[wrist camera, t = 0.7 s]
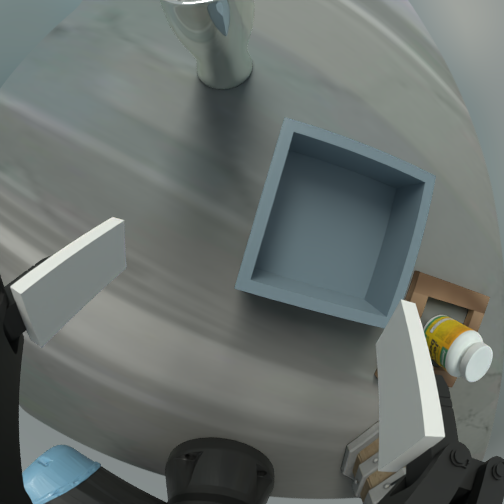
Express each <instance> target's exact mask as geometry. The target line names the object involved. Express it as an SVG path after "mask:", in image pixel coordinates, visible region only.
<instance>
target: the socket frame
mask: <svg viewBox="0 0 504 504" xmlns="http://www.w3.org/2000/svg"><path fill="white" fill-rule="evenodd" d="M428 296H429V297H432V298H435V299H438V300H442V301H445V302H448V303H451V304H455V305H458V306H461V307H464V308H467V309H469V310H468V313H467V316H466V318H465V321H464V324H463V325H465V326H467V327H469V328H471V329H473V330H474V331H476V332H478V329H479V327H480V324H481V321H482V319H483V316H484V313H485V310H486V307H487V304H488V301H489V298H490V297H488V296H485V295H483V294H480V293H477V292H474V291H472V290H469V289H466V288H464V287H461V286H458V285H455V284H452V283H450V282H447V281H444V280H441V279H438V278H436V277H433V276H430V275H427V274H424V273H421V272H418V271H415V272H414V275H413V278H412V281H411V284H410V287H409V290H408V293H407V296H406V299H405V301H409V302H412V303H415V304H416V307H417V310H418V314H419V317H420V318H421V316H422V313H423V310H424V308H425V305H426V302H427V299H428ZM433 371H434V374H437V375H442V376H443V378H444V380H445V382H446V383H447V385H448V387H452V386H453V384H454V383H455V381H456V379H457V377H454V376H451V375H450V374H449V373H447V372H446V371H445V370H444V369H443V368H442V367H435V366H433ZM375 376H376V377H377V378H378V368H377V370H376V372H375Z"/></svg>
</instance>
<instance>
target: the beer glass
mask: <svg viewBox="0 0 504 504" xmlns="http://www.w3.org/2000/svg"><path fill="white" fill-rule="evenodd" d="M160 3H161V6H162V9H163V12H164V14H165V17H166V19H167V21H168V24H169V26H170V28H171V29H172V31H173V33H174V35H175V36H176V37H177V39H178V40H179V41H180V42H181V44H182V45H183V46H184V47H185V48H186V49H187V50H188V51H189V52H190V54H191V55H192V56H193V57H194V58H195V60H196V67H197V74H198V76H199V78H200V80H201V81H202V82H203V83H204V84H205V85H207V86H209V87H211V88H215V89H230V88H233V87H236V86H238V85H240V84H242V83H243V82H244V81H245V80H246V79H247V78H248V77H249V75H250V73H251V71H252V59H251V56H250V54H249V52H248V49H247V47H248V42H249V39H250V35H251V31H252V27H253V22H254V12H255V3H254V0H160Z"/></svg>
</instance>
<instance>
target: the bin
mask: <svg viewBox="0 0 504 504" xmlns="http://www.w3.org/2000/svg"><path fill="white" fill-rule="evenodd" d="M435 178H436V176H435V175H433V174H431V173H429V172H427V171H425V170H423V169H421V168H418V167H416V166H414V165H412V164H410V163H408V162H406V161H403V160H401V159H399V158H397V157H394V156H392V155H390V154H387V153H385V152H383V151H380V150H378V149H376V148H373V147H371V146H368V145H366V144H363V143H360V142H358V141H355V140H353V139H350V138H347V137H345V136H342V135H339V134H336V133H333V132H330V131H328V130H325V129H322V128H319V127H316V126H312V125H309V124H306V123H303V122H300V121H296V120H293V119H290V118H286V117H285V118H284V121H283V124H282V128H281V131H280V134H279V138H278V141H277V144H276V148H275V151H274V154H273V158H272V161H271V165H270V168H269V171H268V175H267V178H266V182H265V185H264V188H263V192H262V195H261V199H260V202H259V205H258V209H257V212H256V216H255V219H254V222H253V226H252V229H251V233H250V236H249V240H248V243H247V246H246V250H245V253H244V257H243V260H242V264H241V267H240V271H239V274H238V278H237V281H236V284H235V288H234V289H238V290H241V291H244V292H248V293H251V294H255V295H258V296H262V297H265V298H269V299H272V300H276V301H280V302H283V303H287V304H291V305H294V306H298V307H302V308H305V309H309V310H313V311H317V312H320V313H324V314H328V315H332V316H336V317H340V318H344V319H348V320H352V321H356V322H360V323H364V324H368V325H372V326H376V327H381V328H385V327H386V326H387V324H388V322H389V320H390V318H391V317H392V315H393V313H394V311H395V309H396V307H397V306H398V304H399V302H400V300H403V299H404V296H405V293H406V290H407V287H408V284H409V281H410V278H411V275H412V272H413V269H414V265H415V262H416V259H417V255H418V252H419V248H420V245H421V241H422V237H423V233H424V229H425V225H426V221H427V217H428V213H429V208H430V203H431V199H432V194H433V189H434V183H435Z"/></svg>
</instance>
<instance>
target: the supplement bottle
mask: <svg viewBox="0 0 504 504" xmlns="http://www.w3.org/2000/svg"><path fill="white" fill-rule="evenodd" d="M423 331H424V334H425V338H426V342H427V346H428V350H429V354H430V358H431V359H432V360H434V361H435V362H436V363H437V364H438V365H439V366H440V367H442V368H443V369H444V370H445V371H446V372H447V373H449V374H450V375H451V376H454V377H463V378H464V379H466V380H467V381H469V382H475V381H477V380H479V379H480V378H481V377H482V376H483V375H484V374H485V373H486V372H487V370H488V369H489V367H490V365H491V362H492V357H493V353H492V349H491V348H490V347H489V346H487V345H486V344H485V343H483V339H482V337H481V336H480V334H479V333H477V332H476V331H474V330H473V329H471V328H469V327H467V326H465V325H463V324H461V323H459V322H458V321H456V320H454V319H452V318H450V317H448V316H446V315H437V316H435V317H433V318H432V319H430V320H429V321H428V322H427V323H426V325H425V326H424V328H423Z"/></svg>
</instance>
